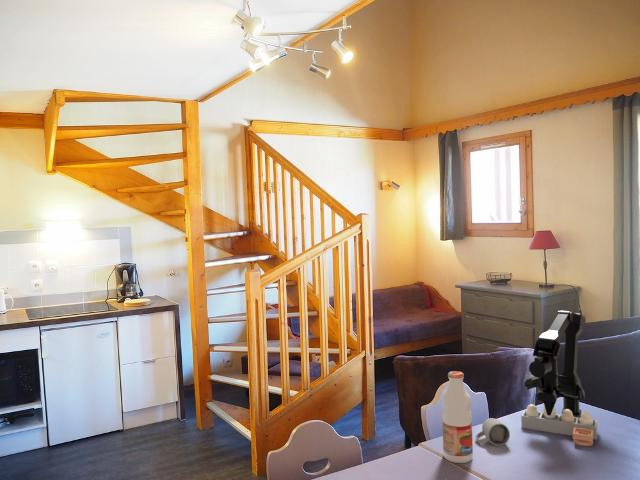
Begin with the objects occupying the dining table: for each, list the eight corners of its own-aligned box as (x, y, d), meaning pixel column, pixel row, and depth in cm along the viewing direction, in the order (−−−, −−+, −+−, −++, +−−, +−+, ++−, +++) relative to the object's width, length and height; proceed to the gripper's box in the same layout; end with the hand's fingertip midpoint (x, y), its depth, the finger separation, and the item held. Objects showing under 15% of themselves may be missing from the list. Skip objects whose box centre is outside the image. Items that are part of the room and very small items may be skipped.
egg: (556, 417, 193) (556, 401, 192) (555, 421, 189) (555, 405, 189) (543, 415, 195) (543, 400, 195) (542, 419, 191) (541, 403, 191)
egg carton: (524, 421, 200) (524, 400, 199) (597, 432, 187) (597, 410, 187) (521, 427, 194) (521, 406, 194) (596, 439, 181) (596, 416, 181)
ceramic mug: (500, 435, 187) (500, 414, 187) (510, 445, 179) (509, 423, 179) (472, 438, 187) (471, 417, 186) (480, 448, 178) (479, 425, 178)
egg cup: (574, 437, 183) (574, 427, 183) (593, 440, 180) (593, 430, 180) (572, 444, 178) (572, 433, 178) (592, 447, 175) (592, 436, 175)
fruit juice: (447, 449, 178) (445, 367, 177) (475, 454, 173) (473, 370, 172) (439, 460, 170) (437, 375, 169) (468, 466, 165) (466, 378, 164)
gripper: (529, 362, 203) (530, 401, 204) (521, 375, 187) (522, 418, 188) (560, 365, 198) (561, 406, 198) (554, 379, 182) (555, 423, 182)
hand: (549, 413), depth 192 cm, fingers closed on egg, 4 cm apart
